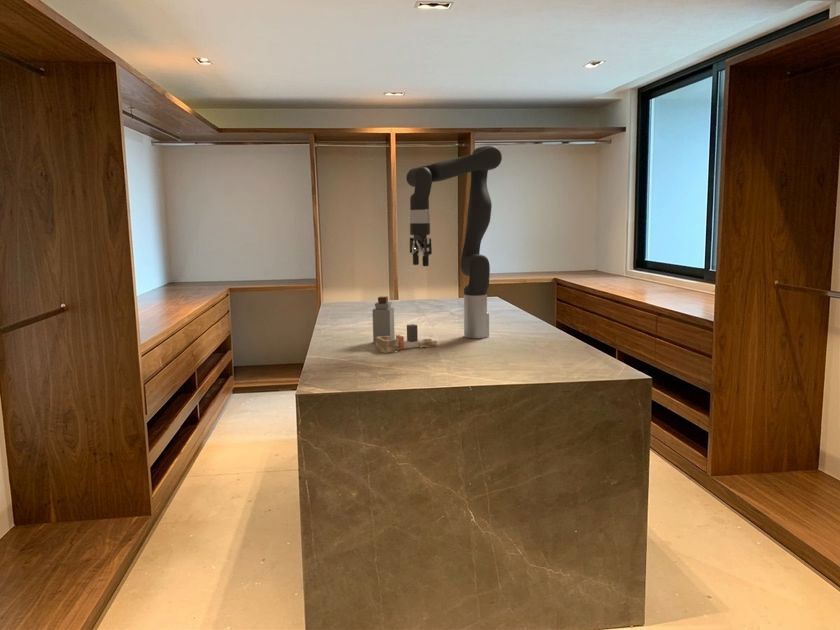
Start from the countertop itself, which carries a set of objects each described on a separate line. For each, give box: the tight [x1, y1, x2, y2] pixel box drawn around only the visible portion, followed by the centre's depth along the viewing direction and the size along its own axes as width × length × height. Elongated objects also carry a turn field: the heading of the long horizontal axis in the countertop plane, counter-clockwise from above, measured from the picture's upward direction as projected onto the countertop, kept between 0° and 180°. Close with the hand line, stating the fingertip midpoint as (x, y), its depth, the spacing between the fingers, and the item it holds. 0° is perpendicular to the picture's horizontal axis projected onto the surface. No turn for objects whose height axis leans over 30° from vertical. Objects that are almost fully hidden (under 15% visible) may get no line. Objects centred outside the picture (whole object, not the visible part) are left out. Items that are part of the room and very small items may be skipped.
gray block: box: [395, 324, 425, 350], centre depth 241 cm, size 10×4×8 cm, turn 115°
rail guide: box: [418, 337, 438, 349], centre depth 244 cm, size 7×6×2 cm
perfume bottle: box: [371, 296, 396, 344], centre depth 250 cm, size 7×7×18 cm
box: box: [375, 336, 400, 354], centre depth 238 cm, size 5×9×4 cm, turn 25°
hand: (420, 265), depth 244 cm, fingers open, 8 cm apart
